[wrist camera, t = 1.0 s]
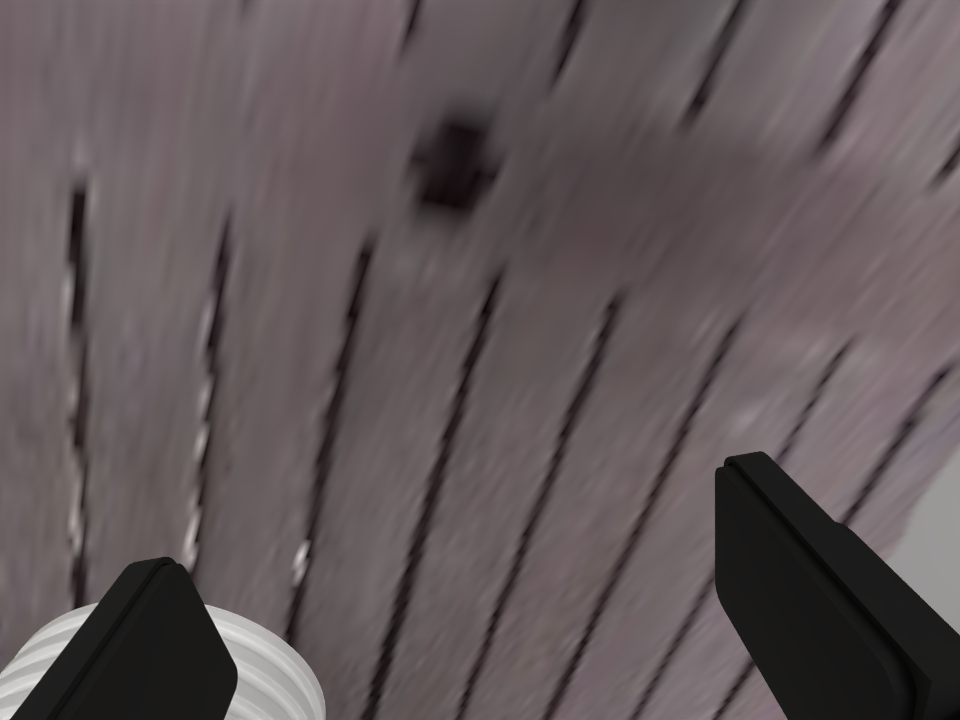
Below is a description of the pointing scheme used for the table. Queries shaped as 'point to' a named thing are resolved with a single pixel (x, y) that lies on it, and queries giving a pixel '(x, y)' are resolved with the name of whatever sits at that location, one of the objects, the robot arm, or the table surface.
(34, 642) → the plate stack
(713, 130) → the table surface
